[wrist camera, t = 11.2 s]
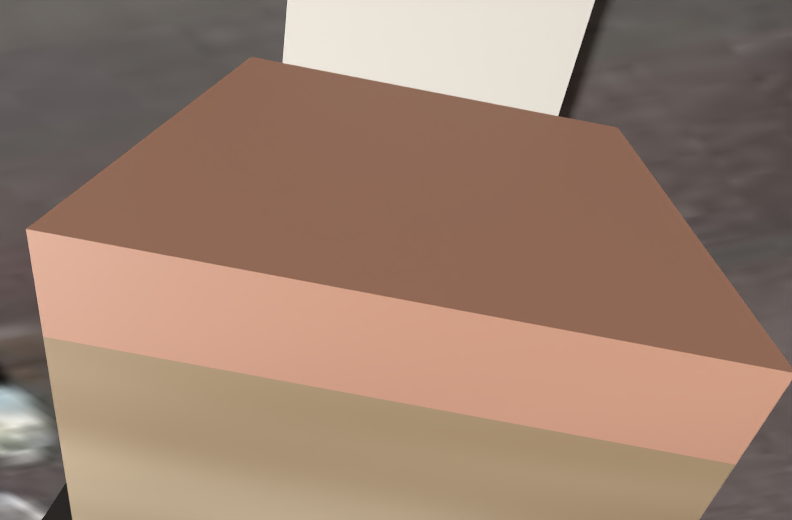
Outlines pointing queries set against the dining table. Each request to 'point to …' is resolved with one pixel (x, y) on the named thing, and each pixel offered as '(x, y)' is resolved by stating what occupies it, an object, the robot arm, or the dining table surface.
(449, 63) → the mat
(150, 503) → the maple block
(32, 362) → the dining table surface
